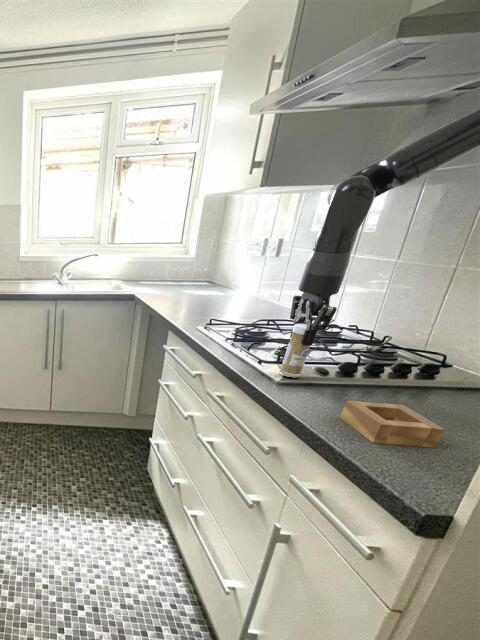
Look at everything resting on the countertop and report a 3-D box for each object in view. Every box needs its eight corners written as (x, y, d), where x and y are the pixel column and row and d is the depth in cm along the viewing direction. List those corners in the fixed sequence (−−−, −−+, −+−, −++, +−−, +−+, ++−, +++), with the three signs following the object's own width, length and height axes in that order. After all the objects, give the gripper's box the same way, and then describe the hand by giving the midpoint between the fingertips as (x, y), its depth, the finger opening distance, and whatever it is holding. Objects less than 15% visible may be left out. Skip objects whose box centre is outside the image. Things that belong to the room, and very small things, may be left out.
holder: (394, 421, 85) (402, 404, 84) (434, 448, 76) (445, 429, 75) (339, 417, 87) (346, 400, 85) (372, 442, 78) (381, 424, 76)
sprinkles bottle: (294, 380, 104) (312, 329, 99) (274, 374, 108) (291, 324, 103) (303, 377, 107) (321, 326, 101) (283, 371, 110) (299, 322, 105)
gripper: (363, 277, 90) (335, 352, 97) (324, 267, 102) (301, 334, 109) (324, 276, 91) (299, 350, 98) (290, 266, 104) (270, 332, 111)
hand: (300, 341), depth 104 cm, fingers closed on sprinkles bottle, 4 cm apart
